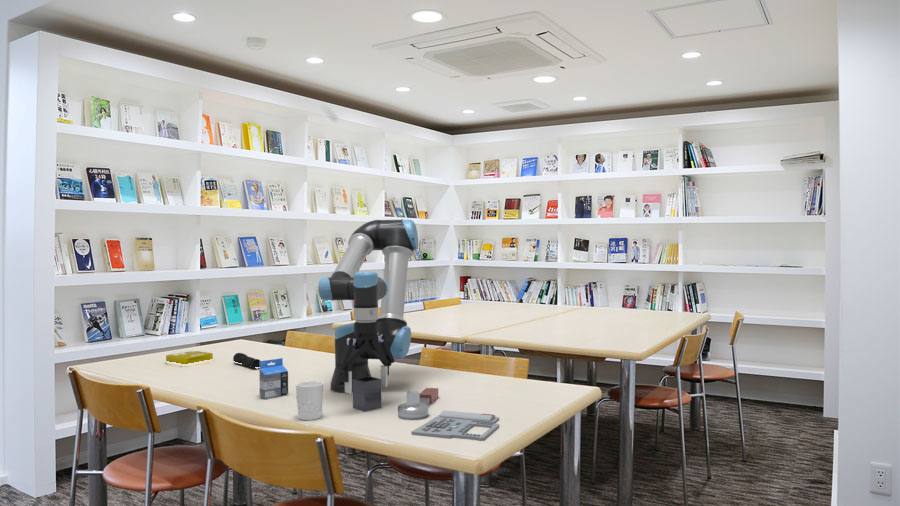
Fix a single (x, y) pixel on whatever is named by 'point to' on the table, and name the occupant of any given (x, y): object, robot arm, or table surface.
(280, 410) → the table surface
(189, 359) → the element tile
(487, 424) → the office telephone
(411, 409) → the grey and red tool
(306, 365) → the table surface
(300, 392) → the white cup
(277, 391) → the label tape cartridge
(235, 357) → the flashlight
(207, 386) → the table surface
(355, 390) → the dark grey storage bin
